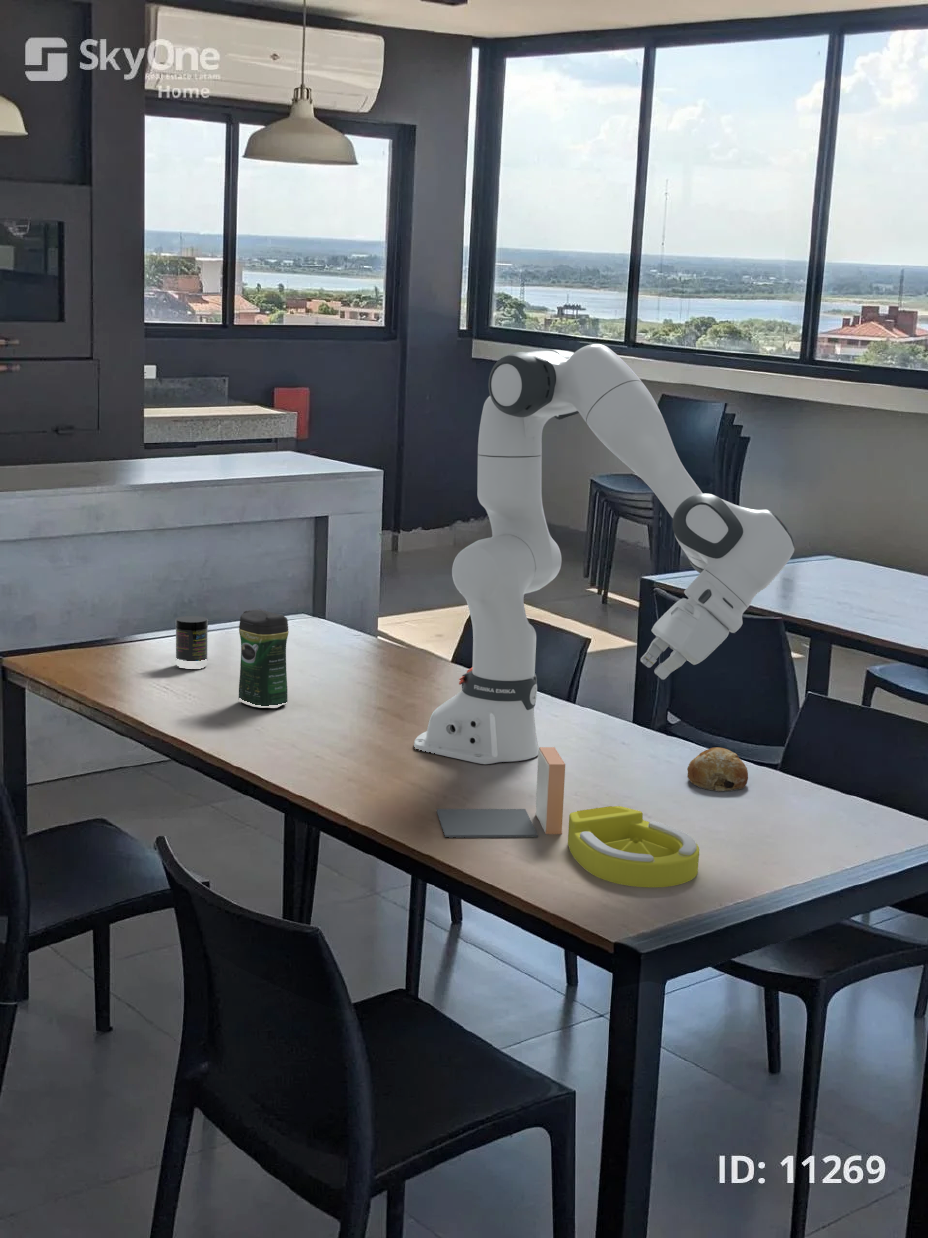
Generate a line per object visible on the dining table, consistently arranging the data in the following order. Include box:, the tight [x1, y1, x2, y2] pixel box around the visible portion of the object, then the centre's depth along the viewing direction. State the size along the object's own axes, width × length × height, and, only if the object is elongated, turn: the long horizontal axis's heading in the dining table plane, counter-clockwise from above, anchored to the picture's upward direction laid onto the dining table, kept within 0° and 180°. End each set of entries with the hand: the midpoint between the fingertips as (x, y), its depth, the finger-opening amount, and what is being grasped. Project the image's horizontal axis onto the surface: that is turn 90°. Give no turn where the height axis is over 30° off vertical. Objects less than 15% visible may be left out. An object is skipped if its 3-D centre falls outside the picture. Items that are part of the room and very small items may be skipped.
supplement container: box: [175, 615, 209, 661], centre depth 325 cm, size 7×7×10 cm
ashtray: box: [567, 805, 700, 888], centre depth 220 cm, size 16×21×5 cm
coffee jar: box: [238, 608, 289, 706], centre depth 296 cm, size 10×8×19 cm
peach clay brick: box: [535, 746, 566, 835], centre depth 234 cm, size 3×9×11 cm, turn 7°
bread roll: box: [686, 746, 749, 793], centre depth 259 cm, size 10×10×8 cm
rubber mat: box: [436, 808, 539, 839], centre depth 234 cm, size 14×12×1 cm
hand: (651, 670), depth 233 cm, fingers open, 8 cm apart
